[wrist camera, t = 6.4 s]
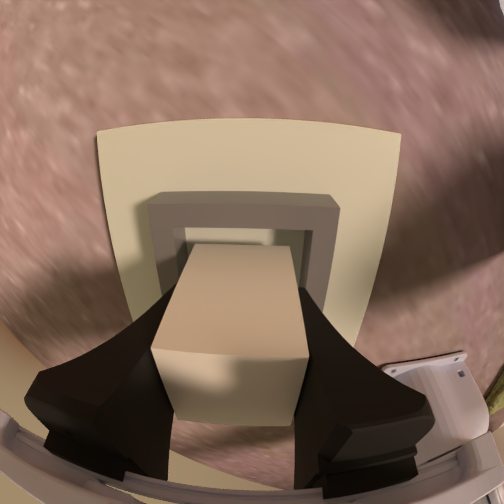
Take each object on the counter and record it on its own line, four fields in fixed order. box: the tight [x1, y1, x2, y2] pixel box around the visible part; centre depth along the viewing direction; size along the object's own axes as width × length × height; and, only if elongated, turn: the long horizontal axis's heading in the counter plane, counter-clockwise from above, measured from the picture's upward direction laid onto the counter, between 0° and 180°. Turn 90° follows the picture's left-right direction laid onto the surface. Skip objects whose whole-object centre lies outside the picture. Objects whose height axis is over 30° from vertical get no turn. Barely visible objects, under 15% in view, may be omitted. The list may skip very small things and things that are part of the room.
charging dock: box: [97, 118, 401, 347], centre depth 13 cm, size 14×14×3 cm
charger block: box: [151, 244, 309, 426], centre depth 10 cm, size 4×4×6 cm
